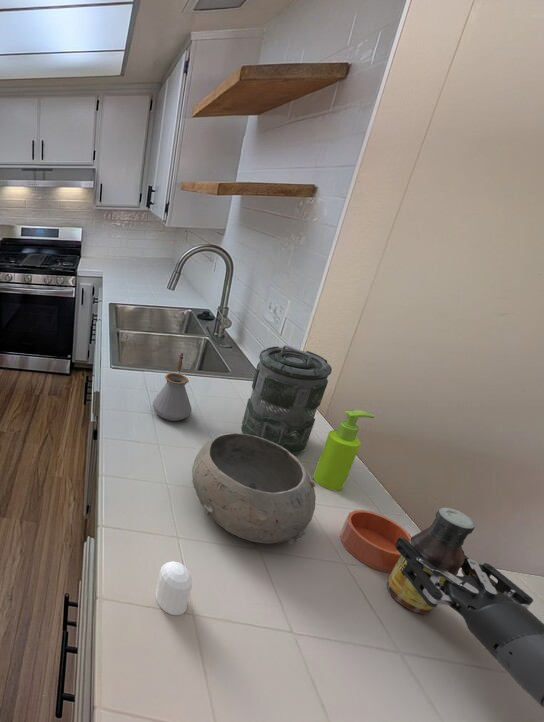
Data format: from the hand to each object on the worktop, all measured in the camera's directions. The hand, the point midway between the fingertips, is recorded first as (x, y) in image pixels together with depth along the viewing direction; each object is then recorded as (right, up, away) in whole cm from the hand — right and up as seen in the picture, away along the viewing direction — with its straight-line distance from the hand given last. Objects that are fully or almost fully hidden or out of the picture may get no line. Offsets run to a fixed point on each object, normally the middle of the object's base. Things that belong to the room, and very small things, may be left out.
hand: (420, 542), depth 65 cm
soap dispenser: (+6, 0, +28) cm, 29 cm away
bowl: (-20, -4, +20) cm, 28 cm away
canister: (+1, +6, +43) cm, 44 cm away
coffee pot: (-21, +13, +59) cm, 64 cm away
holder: (+1, -7, +11) cm, 13 cm away
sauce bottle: (0, -11, +2) cm, 11 cm away
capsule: (-42, -11, +2) cm, 44 cm away
